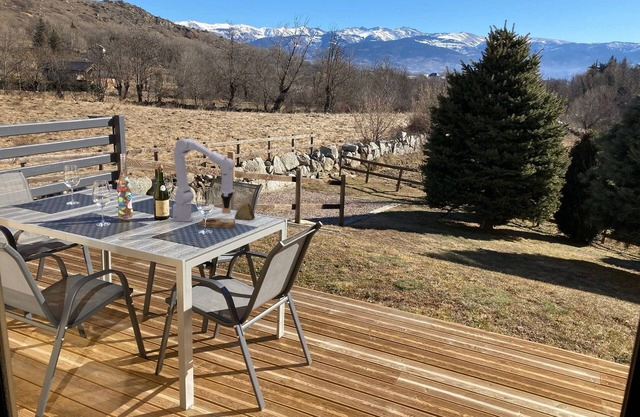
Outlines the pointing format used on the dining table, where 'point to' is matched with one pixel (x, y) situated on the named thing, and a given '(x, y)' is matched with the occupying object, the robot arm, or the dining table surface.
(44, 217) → the dining table surface
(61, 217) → the dining table surface
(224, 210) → the terracotta block
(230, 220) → the cream disc
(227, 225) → the walnut board
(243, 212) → the rock
